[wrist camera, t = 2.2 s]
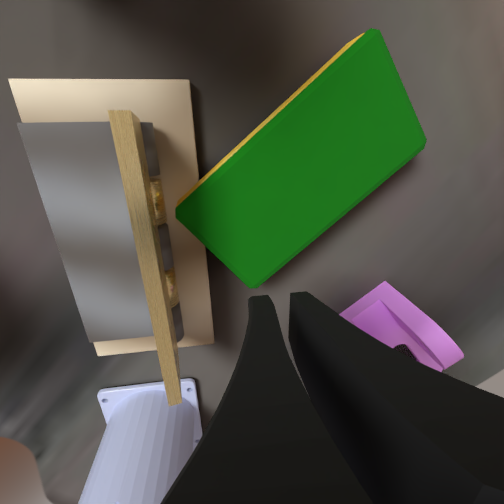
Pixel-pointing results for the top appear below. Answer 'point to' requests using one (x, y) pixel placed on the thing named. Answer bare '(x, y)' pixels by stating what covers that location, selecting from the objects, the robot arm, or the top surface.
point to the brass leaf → (149, 242)
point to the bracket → (403, 326)
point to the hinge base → (116, 201)
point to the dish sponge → (306, 163)
